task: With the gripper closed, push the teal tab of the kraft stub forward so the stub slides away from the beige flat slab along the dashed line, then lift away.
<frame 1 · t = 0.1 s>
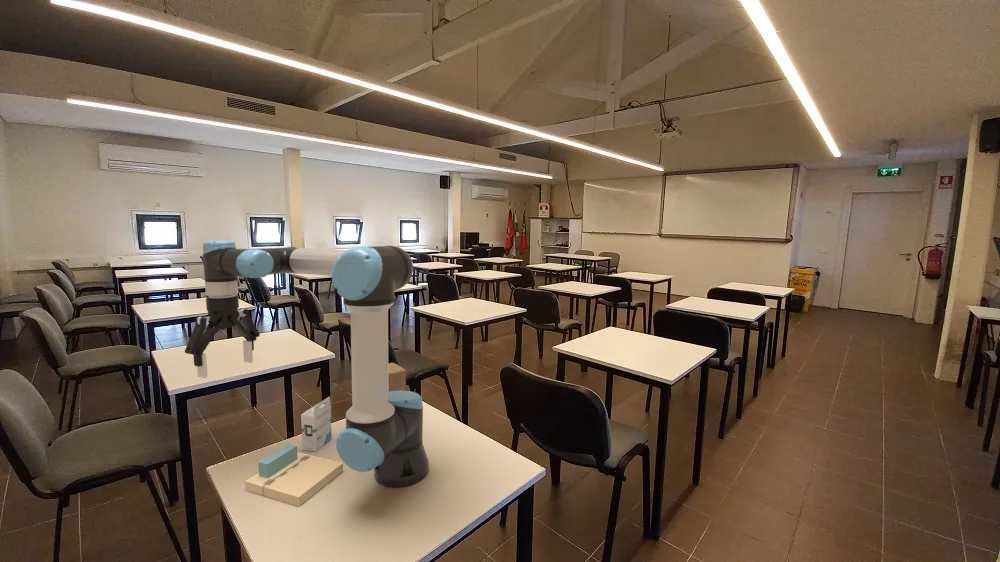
hand: (226, 369, 117), 28 cm above the table, fingers open, 13 cm apart
beige flat slab: (305, 482, 111), on the table
ink box: (317, 444, 131), on the table
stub: (278, 464, 113), point 3 cm above the table, slide at 0.0 cm
wooden block: (387, 422, 147), on the table
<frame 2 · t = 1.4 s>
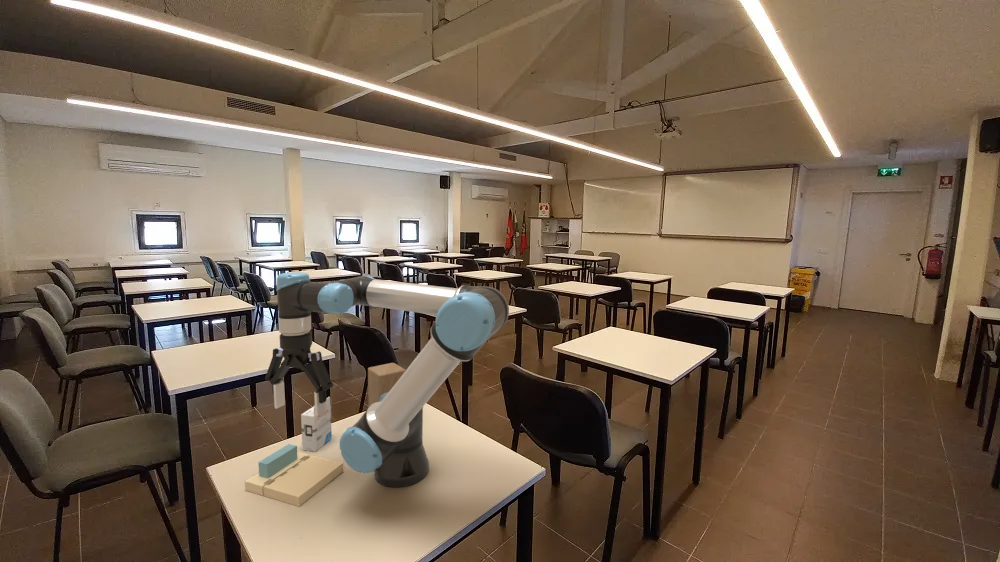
hand: (299, 410, 109), 20 cm above the table, fingers open, 13 cm apart
nothing on the table moved.
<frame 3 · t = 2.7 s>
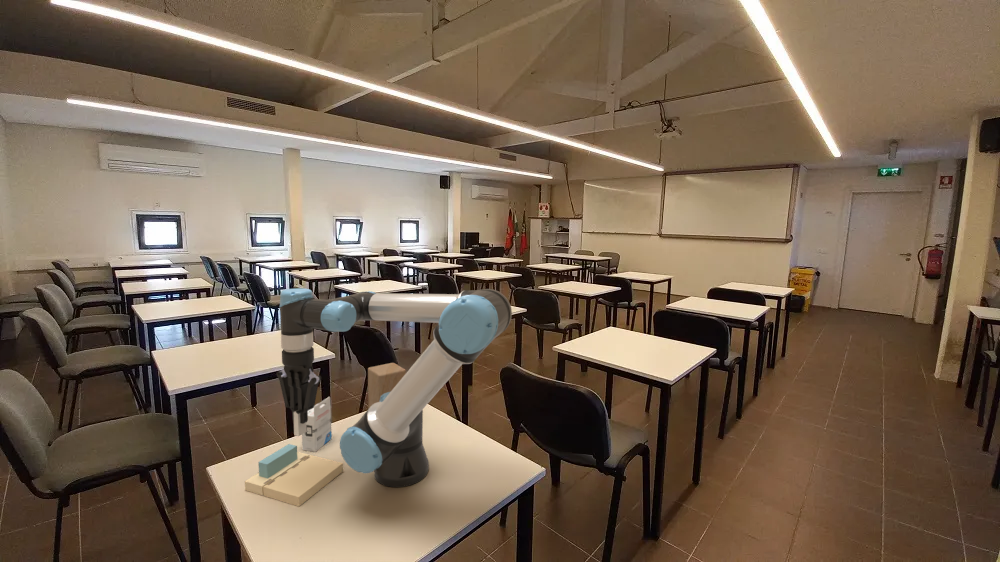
hand: (300, 433, 110), 14 cm above the table, fingers closed
nothing on the table moved.
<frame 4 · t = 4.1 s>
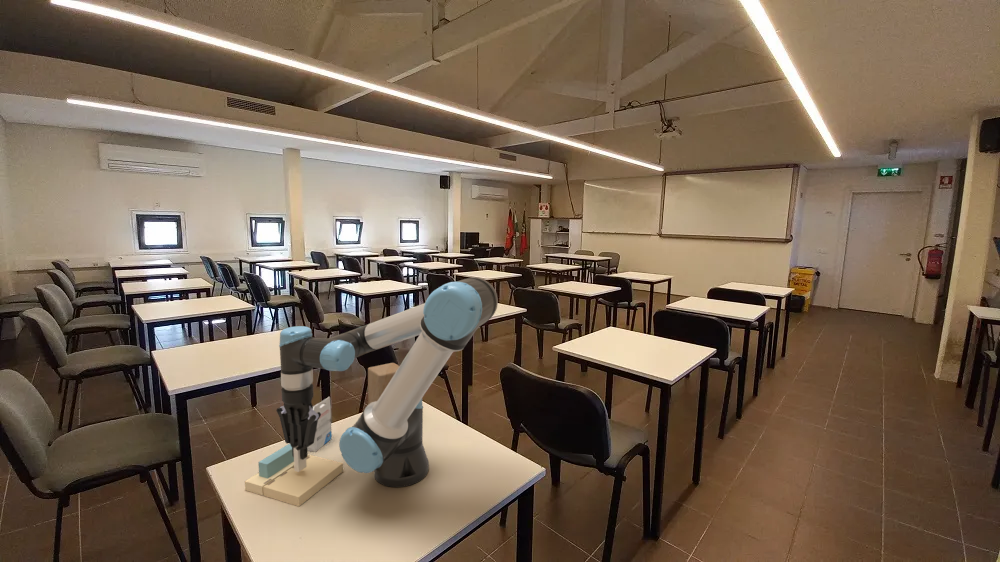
hand: (300, 468, 111), 4 cm above the table, fingers closed
nothing on the table moved.
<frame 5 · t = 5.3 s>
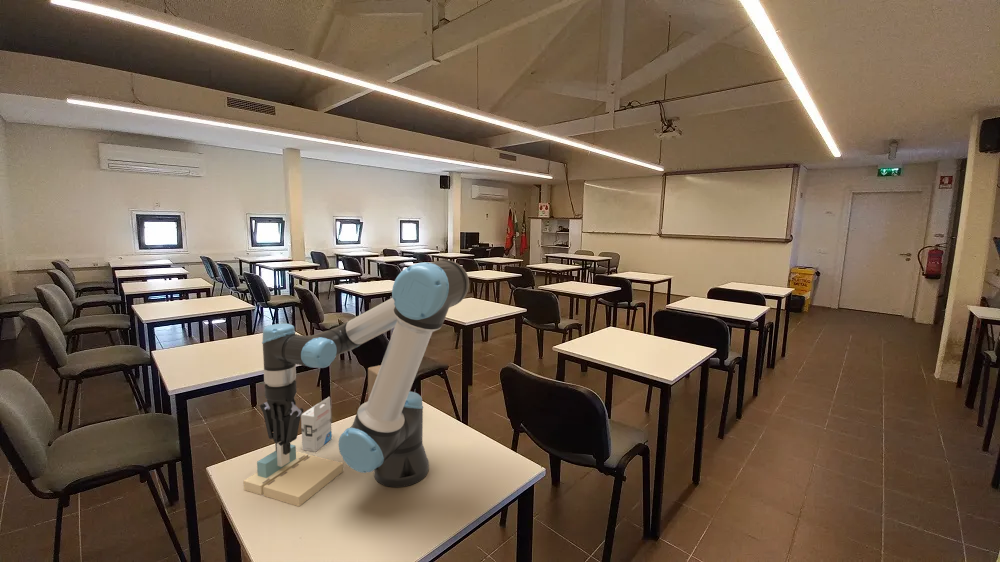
hand: (283, 463, 113), 4 cm above the table, fingers closed
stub: (277, 464, 114), point 3 cm above the table, slide at 0.5 cm, touching gripper
everything else where it was.
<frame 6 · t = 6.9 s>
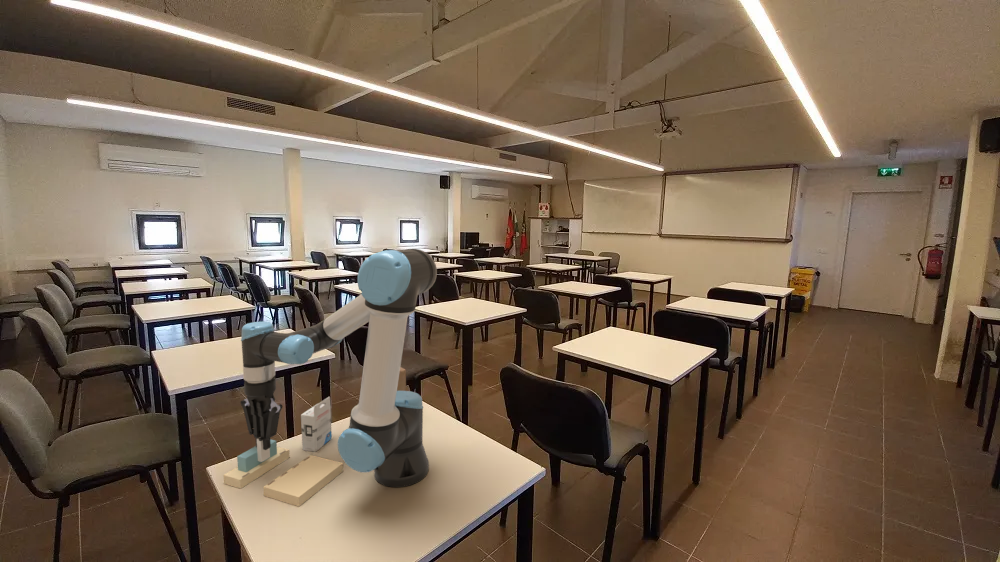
hand: (263, 458, 115), 4 cm above the table, fingers closed
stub: (258, 459, 116), point 3 cm above the table, slide at 7.7 cm, touching gripper
everything else where it was.
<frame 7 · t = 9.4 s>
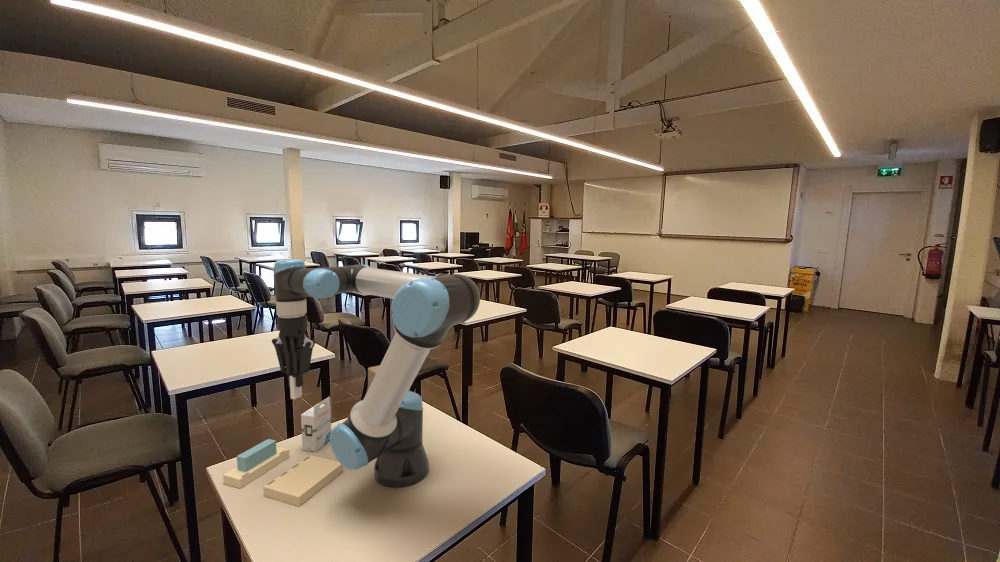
hand: (296, 397, 116), 21 cm above the table, fingers closed
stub: (257, 458, 116), point 3 cm above the table, slide at 7.8 cm
everything else where it was.
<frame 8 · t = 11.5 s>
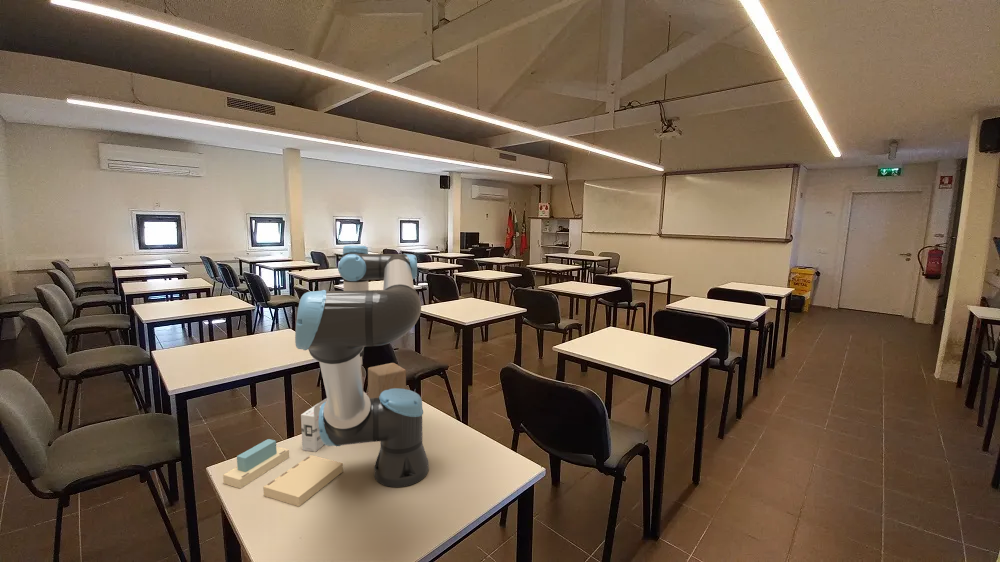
hand: (357, 365, 133), 24 cm above the table, fingers closed
nothing on the table moved.
at the end: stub slide at 7.8 cm; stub touching nothing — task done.
